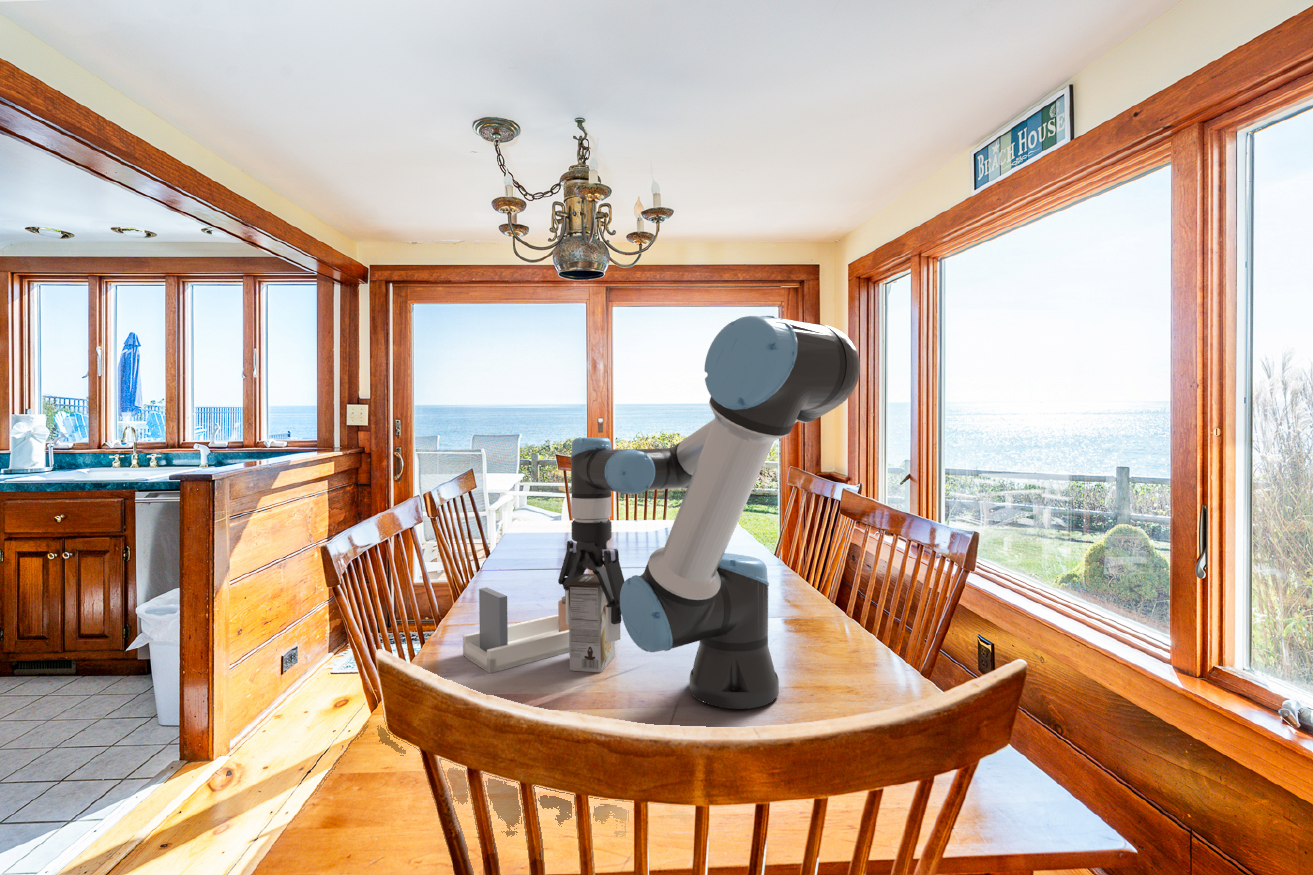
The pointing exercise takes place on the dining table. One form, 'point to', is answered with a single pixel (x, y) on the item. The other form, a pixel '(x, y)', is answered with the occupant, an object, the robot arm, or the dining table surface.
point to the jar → (562, 616)
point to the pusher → (492, 619)
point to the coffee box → (588, 626)
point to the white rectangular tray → (519, 645)
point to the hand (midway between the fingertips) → (591, 631)
